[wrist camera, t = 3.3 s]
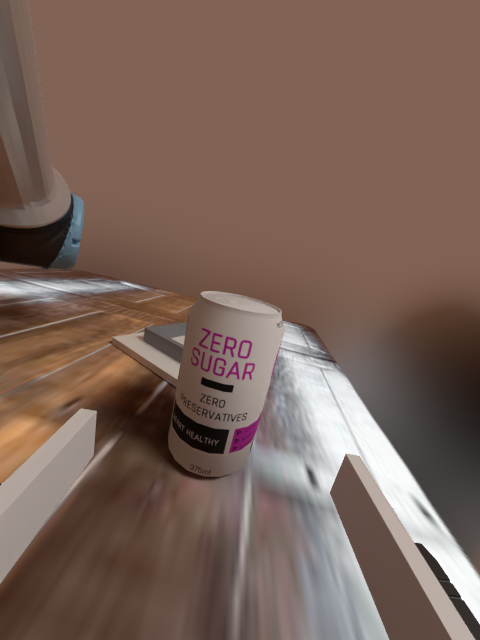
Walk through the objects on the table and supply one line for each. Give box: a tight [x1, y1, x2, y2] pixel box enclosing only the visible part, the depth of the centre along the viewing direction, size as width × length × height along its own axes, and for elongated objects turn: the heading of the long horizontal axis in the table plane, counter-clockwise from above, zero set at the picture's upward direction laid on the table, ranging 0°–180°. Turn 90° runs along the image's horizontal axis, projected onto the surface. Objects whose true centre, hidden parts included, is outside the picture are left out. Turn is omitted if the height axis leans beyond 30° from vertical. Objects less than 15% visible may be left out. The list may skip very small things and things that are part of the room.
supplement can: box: [168, 291, 285, 477], centre depth 21 cm, size 8×8×15 cm
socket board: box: [112, 322, 187, 387], centre depth 42 cm, size 20×20×4 cm
